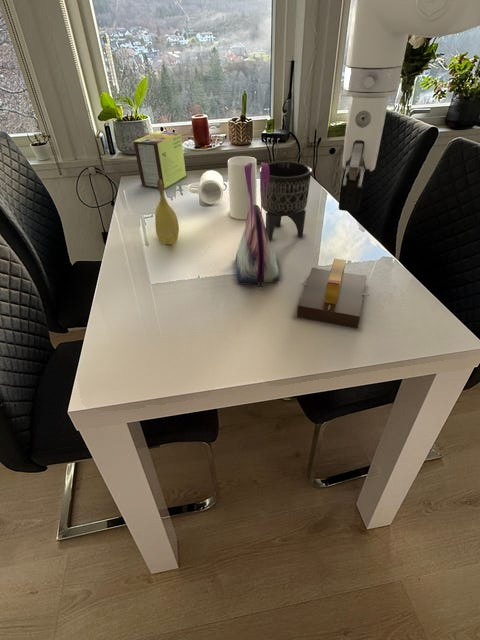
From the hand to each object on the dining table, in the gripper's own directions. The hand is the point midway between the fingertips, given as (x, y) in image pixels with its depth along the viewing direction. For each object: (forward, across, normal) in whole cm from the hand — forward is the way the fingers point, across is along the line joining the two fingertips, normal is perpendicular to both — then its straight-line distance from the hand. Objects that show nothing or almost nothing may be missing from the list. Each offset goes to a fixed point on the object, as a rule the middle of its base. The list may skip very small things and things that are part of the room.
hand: (351, 199), depth 64 cm
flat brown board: (+23, +2, +1) cm, 23 cm away
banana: (+23, +17, +48) cm, 56 cm away
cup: (+23, +40, +34) cm, 57 cm away
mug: (+23, +48, +50) cm, 73 cm away
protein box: (+23, +61, +73) cm, 97 cm away
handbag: (+23, +9, +20) cm, 32 cm away
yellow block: (+20, +2, +1) cm, 20 cm away
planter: (+23, +30, +19) cm, 42 cm away
